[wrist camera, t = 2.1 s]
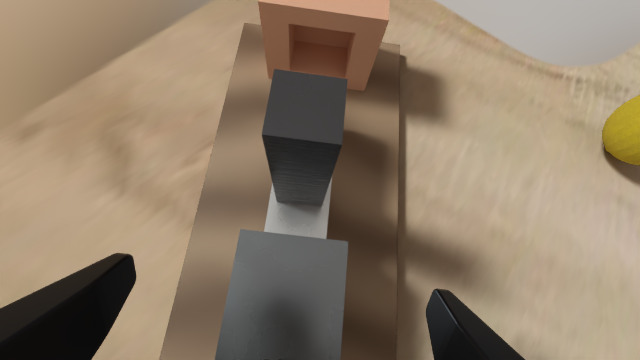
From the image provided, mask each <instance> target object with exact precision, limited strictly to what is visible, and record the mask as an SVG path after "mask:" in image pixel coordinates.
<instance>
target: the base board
mask: <svg viewBox="0 0 640 360" xmlns="http://www.w3.org/2000/svg"><path fill="white" fill-rule="evenodd" d="M271 83H272V79H271V78H268V72H267V65H266V57H265V50H264V42H263V34H262V27H261V25H256V24H249V23H244V27H243V31H242V35H241V39H240V43H239V47H238V51H237V55H236V58H235V62H234V66H233V70H232V74H231V78H230V82H229V86H228V90H227V94H226V98H225V102H224V106H223V110H222V114H221V118H220V122H219V126H218V130H217V133H216V137H215V141H214V145H213V149H212V153H211V157H210V161H209V165H208V169H207V173H206V177H205V181H204V185H203V189H202V193H201V197H200V201H199V204H198V208H197V212H196V216H195V220H194V224H193V228H192V232H191V236H190V240H189V244H188V248H187V252H186V256H185V260H184V264H183V268H182V272H181V276H180V279H179V283H178V287H177V291H176V295H175V299H174V303H173V307H172V311H171V315H170V319H169V323H168V327H167V331H166V335H165V339H164V343H163V347H162V350H161V354H160V358H159V360H215V355H216V350H217V345H218V339H219V334H220V329H221V324H222V319H223V314H224V309H225V304H226V299H227V294H228V289H229V284H230V279H231V274H232V268H233V263H234V258H235V253H236V248H237V243H238V238H239V233H240V229H245V230H254V231H262V232H264V229H265V223H266V217H267V211H268V205H269V199H270V193H271V187H272V179H271V174H270V170H269V165H268V161H267V156H266V152H265V148H264V143H263V139H262V129H263V124H264V119H265V114H266V109H267V104H268V98H269V93H270V88H271ZM399 84H400V45H397V44H390V43H383V42H381V44H380V47H379V50H378V53H377V56H376V58H375V61H374V64H373V67H372V70H371V73H370V76H369V78H368V81H367V84H366V87H365V90H364V91H359V90H352V89H347V94H346V106H345V117H344V129H343V141H342V147H341V150H340V153H339V156H338V159H337V162H336V165H335V168H334V171H333V174H332V183H331V194H330V204H329V215H328V225H327V236H326V239H331V240H340V241H348V256H347V270H346V285H345V299H344V314H343V328H342V343H341V357H340V360H396V333H397V250H398V167H399Z"/></svg>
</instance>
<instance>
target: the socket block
mask: <svg viewBox="0 0 640 360" xmlns="http://www.w3.org/2000/svg"><path fill="white" fill-rule="evenodd" d="M258 4H259V12H260V19H261V27H262V34H263V42H264V50H265V57H266V65H267V72H268V78H271V79H272V78H273V73H274V69H279V70H286V71H293V72H301V73H308V74H315V75H323V76H330V77H337V78H345V79H348V82H347V89H352V90H359V91H364V90H365V87H366V84H367V81H368V78H369V76H370V73H371V70H372V67H373V64H374V61H375V58H376V56H377V53H378V50H379V47H380V44H381V41H382V38H383V36H384V33H385V30H386V27H387V24H388V21H389V0H258Z"/></svg>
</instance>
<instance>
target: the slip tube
mask: <svg viewBox="0 0 640 360" xmlns="http://www.w3.org/2000/svg"><path fill="white" fill-rule="evenodd" d="M347 82H348V79H345V78H337V77H330V76H323V75H315V74H308V73H301V72H293V71H286V70H279V69H274V73H273V78H272V83H271V88H270V93H269V98H268V104H267V109H266V114H265V119H264V124H263V129H262V139H263V143H264V148H265V152H266V156H267V161H268V165H269V170H270V174H271V179H272V187H271V193H270V199H269V205H268V211H267V217H266V223H265V229H264V232H271V233H279V234H288V235H297V236H305V237H314V238H323V239H326V236H327V225H328V215H329V204H330V194H331V183H332V174H333V171H334V168H335V165H336V162H337V159H338V156H339V153H340V150H341V147H342V141H343V129H344V117H345V106H346V94H347Z"/></svg>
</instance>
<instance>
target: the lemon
mask: <svg viewBox="0 0 640 360" xmlns="http://www.w3.org/2000/svg"><path fill="white" fill-rule="evenodd" d="M602 140H603V143H604V145H605V149H606V151H607V152H609V153H611V154H612V155H613V156H614V157H616V158H617V159H619V160H621V161H624V162H626V163H629V164H634V165H640V95H638V96H636V97H635V98H633V99H631V100H629V101H627V102H626V103H624V104H623V105H621V106H620V107H619V108H617V109H616V110H615V111H614V112H613V113H612V114H611V116H610V117H609V118H608V119H607V121H606V122H605V125H604V127H603V130H602Z"/></svg>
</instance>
